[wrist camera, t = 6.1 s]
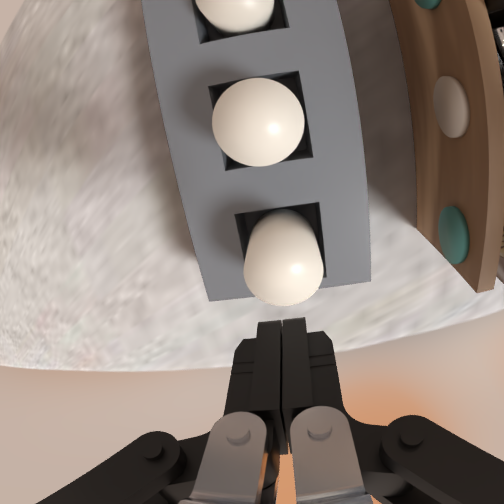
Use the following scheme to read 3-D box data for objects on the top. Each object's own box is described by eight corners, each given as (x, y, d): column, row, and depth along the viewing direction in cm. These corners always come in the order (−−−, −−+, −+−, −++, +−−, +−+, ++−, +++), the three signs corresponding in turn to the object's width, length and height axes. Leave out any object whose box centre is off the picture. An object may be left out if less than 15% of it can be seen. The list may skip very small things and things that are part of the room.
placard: (400, -14, 14) (460, -63, 6) (430, 227, 21) (493, 289, 13) (379, -15, 14) (431, -70, 6) (412, 229, 22) (470, 294, 13)
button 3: (310, 204, 18) (319, 230, 14) (317, 264, 19) (325, 300, 16) (244, 214, 18) (236, 241, 15) (256, 272, 20) (251, 309, 16)
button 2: (291, 80, 15) (296, 71, 11) (303, 148, 17) (310, 159, 13) (220, 92, 16) (204, 87, 12) (233, 159, 17) (221, 173, 13)
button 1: (267, -17, 14) (265, -44, 10) (279, 34, 16) (280, 16, 12) (206, -5, 15) (189, -29, 11) (216, 46, 16) (201, 31, 12)
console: (311, -27, 14) (319, -55, 10) (355, 250, 23) (370, 281, 18) (163, 1, 16) (138, -19, 12) (220, 268, 24) (209, 301, 20)
